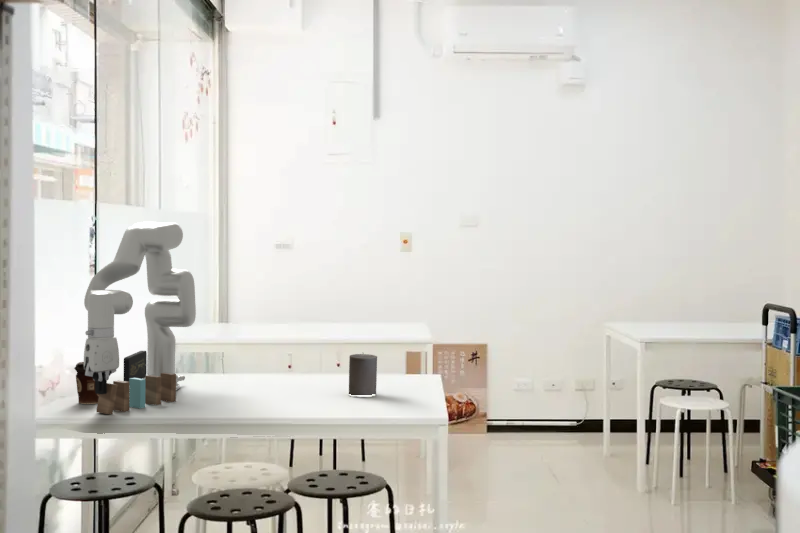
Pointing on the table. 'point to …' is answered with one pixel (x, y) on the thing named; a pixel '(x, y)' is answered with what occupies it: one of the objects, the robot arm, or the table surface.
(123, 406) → the domino
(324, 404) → the table surface
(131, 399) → the domino
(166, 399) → the domino end
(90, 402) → the coffee cup
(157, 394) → the domino
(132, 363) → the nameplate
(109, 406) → the domino far
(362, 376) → the pillar candle
